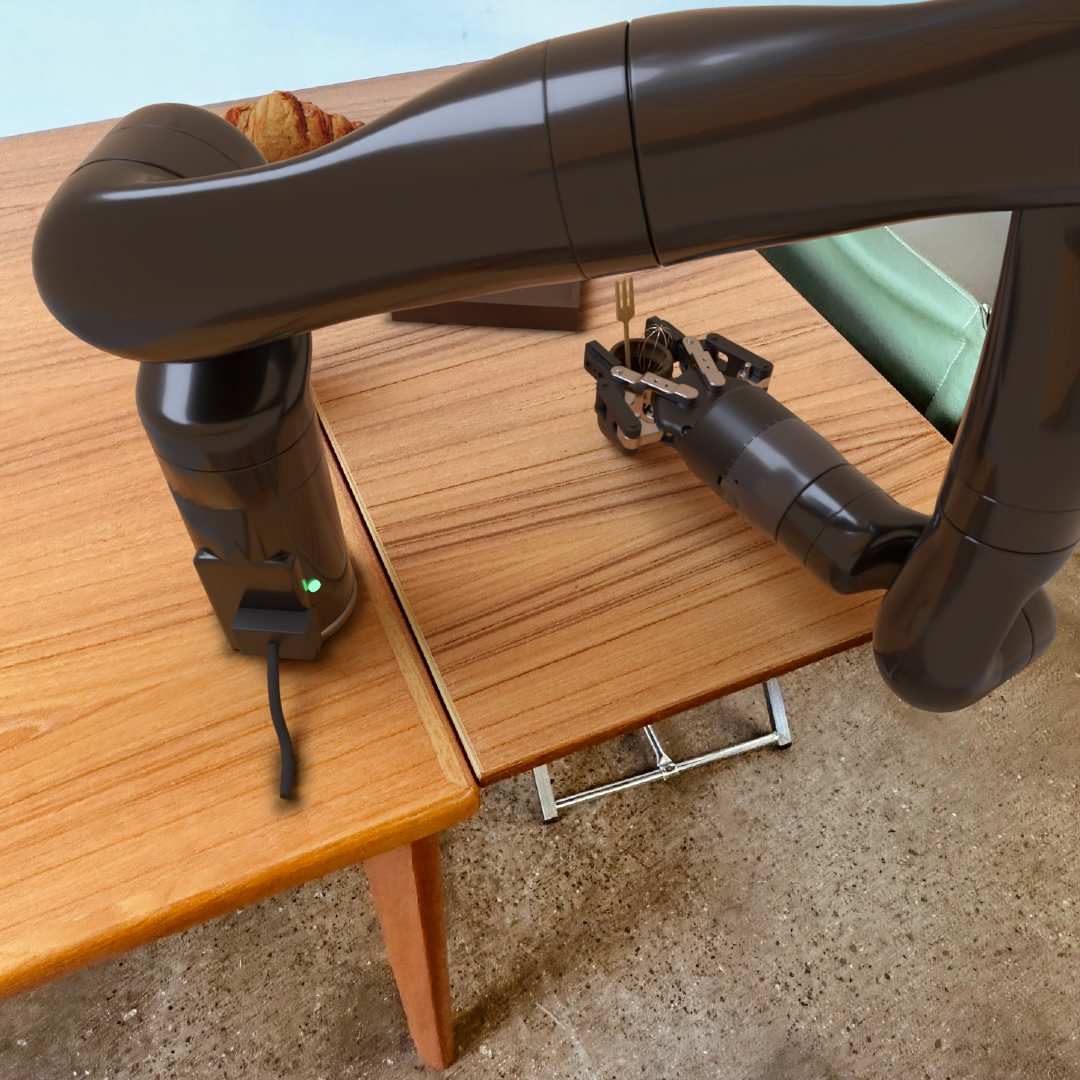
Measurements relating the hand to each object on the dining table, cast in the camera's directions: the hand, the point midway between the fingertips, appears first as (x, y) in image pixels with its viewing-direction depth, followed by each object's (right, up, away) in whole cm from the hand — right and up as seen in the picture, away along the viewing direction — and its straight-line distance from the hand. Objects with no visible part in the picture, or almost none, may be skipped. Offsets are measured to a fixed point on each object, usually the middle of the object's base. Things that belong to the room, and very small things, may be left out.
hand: (619, 339), depth 71 cm
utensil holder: (+1, -6, +4) cm, 8 cm away
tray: (-11, +13, +22) cm, 27 cm away
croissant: (-37, +30, +37) cm, 60 cm away
